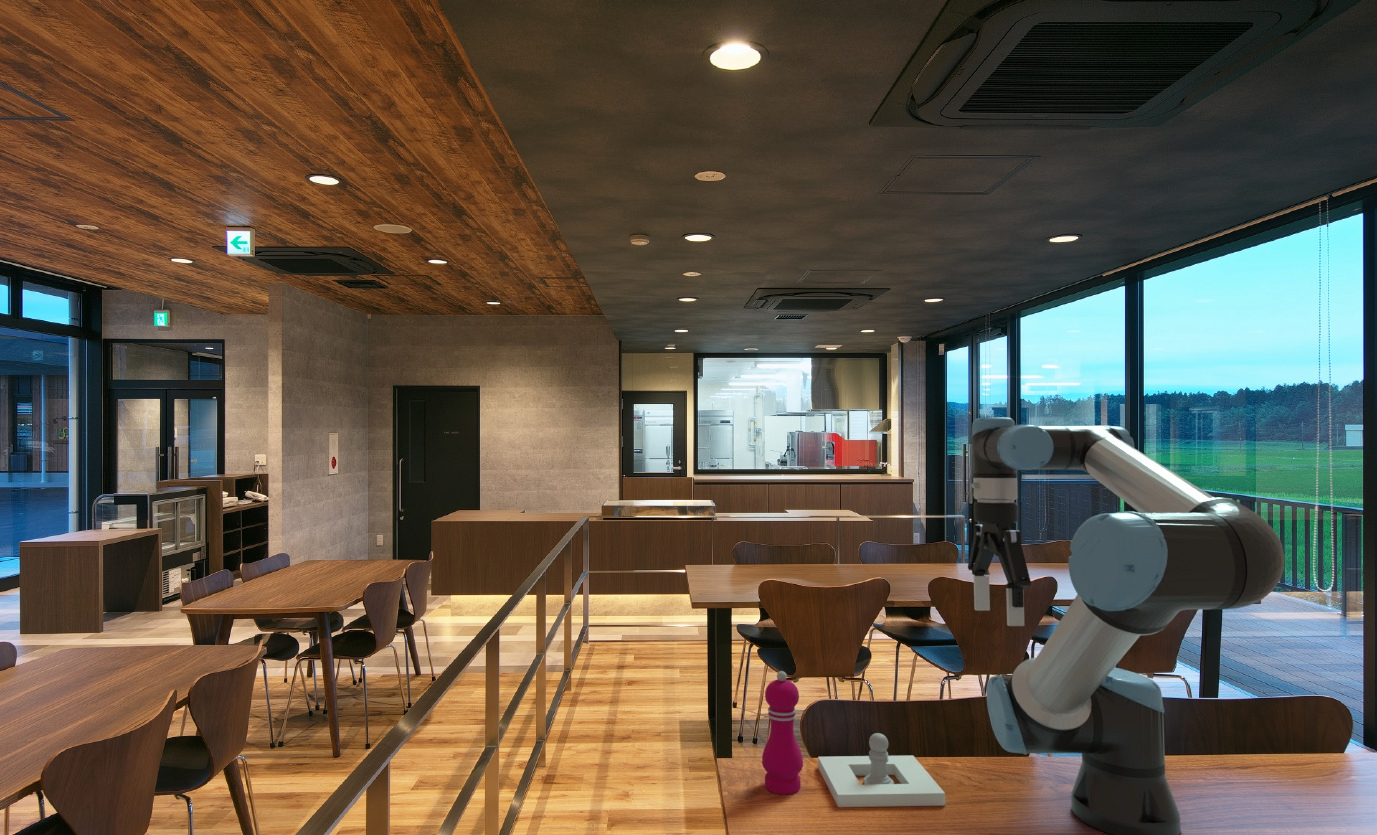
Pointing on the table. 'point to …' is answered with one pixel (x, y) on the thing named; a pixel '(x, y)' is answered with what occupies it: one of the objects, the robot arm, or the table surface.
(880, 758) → the chess piece
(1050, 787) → the table surface
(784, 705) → the pepper mill
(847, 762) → the socket board
